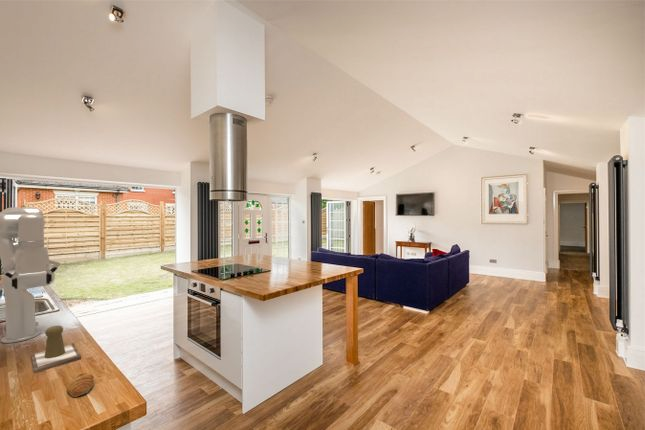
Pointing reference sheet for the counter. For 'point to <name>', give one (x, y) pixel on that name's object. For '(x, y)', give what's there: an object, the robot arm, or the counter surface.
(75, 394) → the pastry
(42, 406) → the counter surface
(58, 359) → the silver rectangular plate
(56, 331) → the cork
